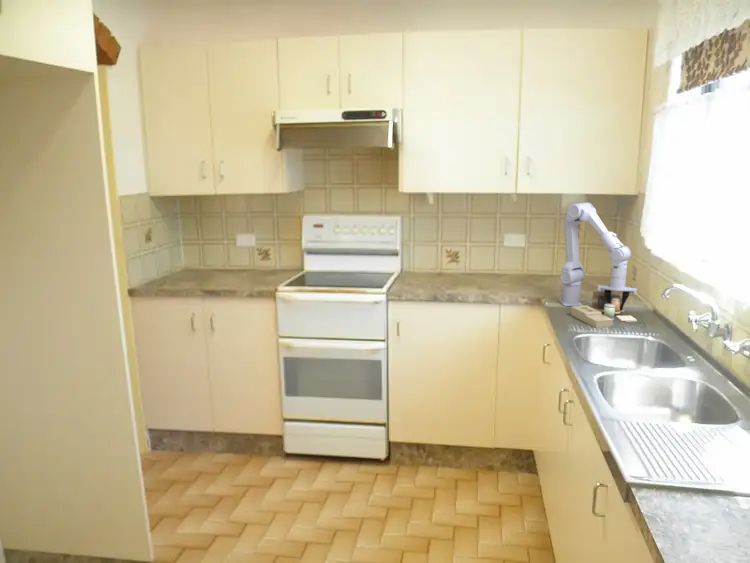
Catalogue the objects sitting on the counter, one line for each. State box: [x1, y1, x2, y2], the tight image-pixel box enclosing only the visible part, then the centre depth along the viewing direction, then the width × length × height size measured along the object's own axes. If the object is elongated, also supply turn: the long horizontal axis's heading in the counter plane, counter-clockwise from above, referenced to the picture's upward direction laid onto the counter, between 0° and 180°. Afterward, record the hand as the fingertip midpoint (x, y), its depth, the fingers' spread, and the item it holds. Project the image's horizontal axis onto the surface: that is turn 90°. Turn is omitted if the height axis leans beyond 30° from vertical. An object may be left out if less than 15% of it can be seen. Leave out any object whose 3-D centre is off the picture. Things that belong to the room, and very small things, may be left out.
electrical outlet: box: [570, 304, 614, 329], centre depth 229 cm, size 7×4×18 cm
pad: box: [615, 315, 638, 323], centre depth 230 cm, size 6×6×1 cm
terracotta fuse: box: [610, 297, 622, 315], centre depth 234 cm, size 4×4×6 cm
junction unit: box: [590, 290, 625, 313], centre depth 241 cm, size 5×12×8 cm, turn 89°
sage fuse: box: [603, 303, 616, 321], centre depth 230 cm, size 4×4×6 cm
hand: (615, 309), depth 235 cm, fingers closed on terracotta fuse, 4 cm apart
